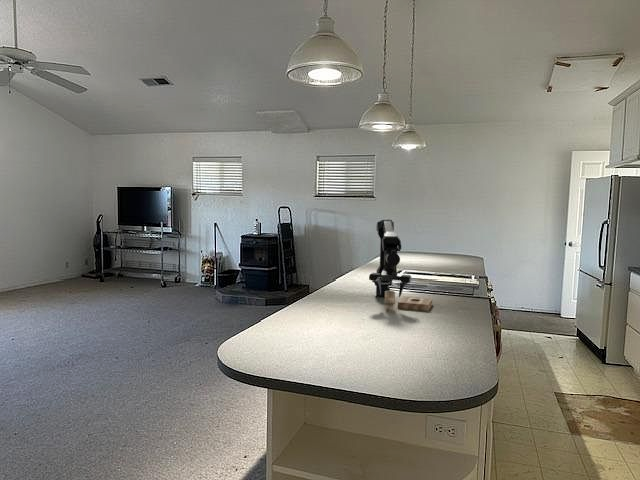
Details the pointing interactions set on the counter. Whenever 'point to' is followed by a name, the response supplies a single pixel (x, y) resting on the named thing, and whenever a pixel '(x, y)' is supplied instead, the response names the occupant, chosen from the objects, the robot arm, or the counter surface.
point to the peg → (389, 300)
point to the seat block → (415, 303)
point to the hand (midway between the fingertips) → (389, 296)
